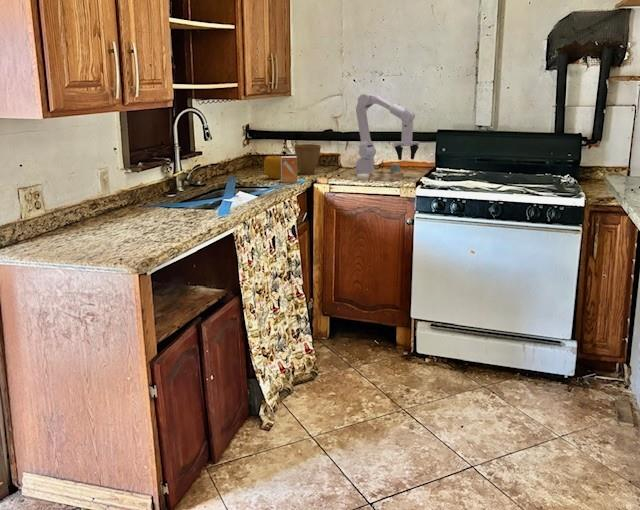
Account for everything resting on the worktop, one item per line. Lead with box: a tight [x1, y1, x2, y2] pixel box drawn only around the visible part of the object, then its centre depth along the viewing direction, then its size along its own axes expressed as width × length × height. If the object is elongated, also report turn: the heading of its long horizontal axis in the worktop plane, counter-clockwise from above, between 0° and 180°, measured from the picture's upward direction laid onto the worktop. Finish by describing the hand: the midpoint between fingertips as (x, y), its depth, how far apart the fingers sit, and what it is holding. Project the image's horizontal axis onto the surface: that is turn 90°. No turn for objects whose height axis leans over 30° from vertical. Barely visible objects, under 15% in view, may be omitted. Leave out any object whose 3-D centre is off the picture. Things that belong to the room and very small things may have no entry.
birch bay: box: [368, 170, 405, 183], centre depth 335 cm, size 14×12×4 cm
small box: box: [280, 155, 298, 184], centre depth 328 cm, size 8×6×13 cm
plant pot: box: [294, 143, 322, 175], centre depth 357 cm, size 15×15×16 cm
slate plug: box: [389, 162, 401, 172], centre depth 348 cm, size 4×4×7 cm
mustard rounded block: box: [263, 154, 282, 180], centre depth 338 cm, size 11×11×13 cm
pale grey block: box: [356, 173, 370, 181], centre depth 336 cm, size 6×6×3 cm
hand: (406, 159), depth 340 cm, fingers open, 7 cm apart
